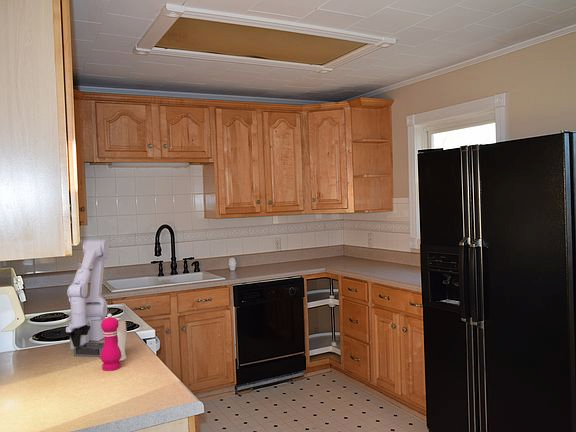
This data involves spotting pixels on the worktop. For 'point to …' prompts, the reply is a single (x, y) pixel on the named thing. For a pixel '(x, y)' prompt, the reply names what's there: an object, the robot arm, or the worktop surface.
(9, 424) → the worktop surface
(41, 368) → the worktop surface
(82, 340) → the panel
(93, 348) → the rack
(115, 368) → the pepper mill
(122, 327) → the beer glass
